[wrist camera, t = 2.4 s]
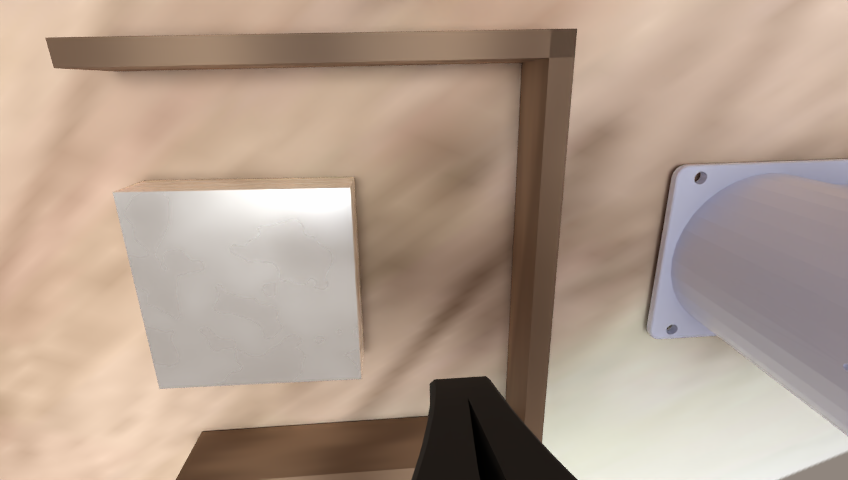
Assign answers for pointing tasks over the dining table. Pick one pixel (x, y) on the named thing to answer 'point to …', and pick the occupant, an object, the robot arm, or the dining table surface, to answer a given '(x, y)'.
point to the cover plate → (246, 278)
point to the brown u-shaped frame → (533, 225)
